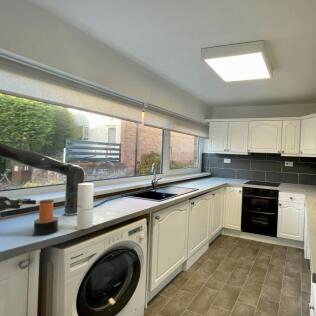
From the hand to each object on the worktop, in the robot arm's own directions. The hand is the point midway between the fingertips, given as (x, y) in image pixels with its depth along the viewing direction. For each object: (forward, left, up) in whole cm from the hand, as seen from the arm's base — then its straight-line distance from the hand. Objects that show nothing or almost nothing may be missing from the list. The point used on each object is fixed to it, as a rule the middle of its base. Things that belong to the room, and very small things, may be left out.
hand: (27, 204), depth 102 cm
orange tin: (-4, +8, -8) cm, 12 cm away
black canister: (-5, +8, -15) cm, 17 cm away
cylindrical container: (-19, +16, -15) cm, 29 cm away
